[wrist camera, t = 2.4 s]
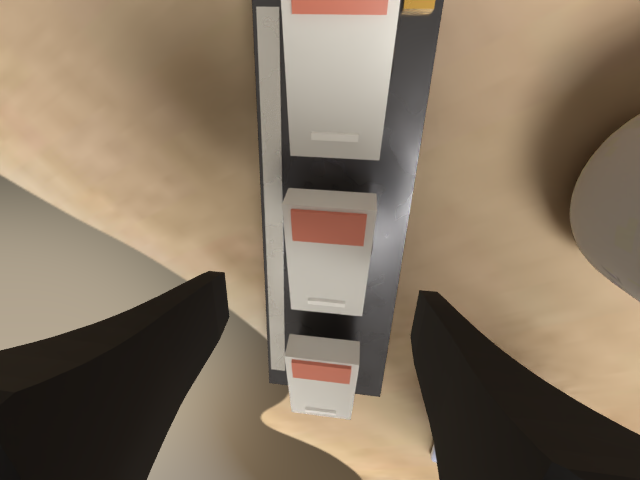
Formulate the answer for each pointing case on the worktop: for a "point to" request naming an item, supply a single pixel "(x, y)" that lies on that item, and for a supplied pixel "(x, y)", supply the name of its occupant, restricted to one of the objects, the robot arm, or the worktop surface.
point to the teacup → (611, 208)
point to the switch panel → (343, 186)
